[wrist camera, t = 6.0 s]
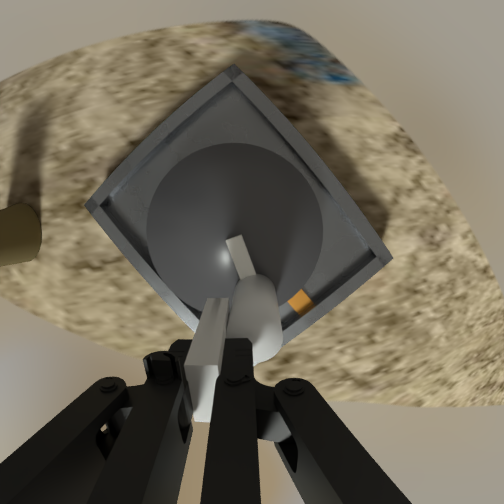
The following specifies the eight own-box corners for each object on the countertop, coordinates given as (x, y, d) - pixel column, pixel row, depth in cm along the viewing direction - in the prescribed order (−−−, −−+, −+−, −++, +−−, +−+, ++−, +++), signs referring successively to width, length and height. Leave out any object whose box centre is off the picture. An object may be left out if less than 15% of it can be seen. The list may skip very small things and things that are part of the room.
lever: (139, 183, 21) (71, 185, 12) (283, 127, 20) (302, 88, 11) (194, 319, 23) (163, 389, 14) (332, 272, 22) (375, 326, 13)
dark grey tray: (102, 202, 23) (84, 205, 20) (236, 77, 21) (234, 63, 18) (241, 356, 26) (239, 375, 23) (378, 249, 24) (393, 258, 21)
